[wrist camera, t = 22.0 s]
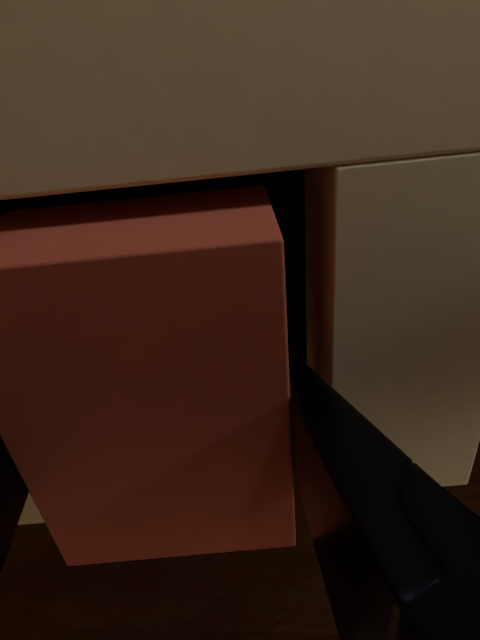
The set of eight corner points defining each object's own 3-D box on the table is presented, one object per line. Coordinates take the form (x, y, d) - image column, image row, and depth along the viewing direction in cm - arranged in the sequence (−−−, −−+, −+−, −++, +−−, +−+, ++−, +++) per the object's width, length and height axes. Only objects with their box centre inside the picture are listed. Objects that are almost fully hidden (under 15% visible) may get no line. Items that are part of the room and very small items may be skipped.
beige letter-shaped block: (420, 403, 13) (468, 485, 11) (-27, 445, 14) (-85, 535, 11) (586, -615, 5) (957, -1298, 3) (-555, -467, 5) (-1276, -955, 3)
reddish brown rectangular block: (7, 209, 8) (-88, 274, 6) (264, 183, 8) (284, 237, 6) (100, 458, 12) (66, 567, 9) (279, 442, 12) (296, 546, 9)
